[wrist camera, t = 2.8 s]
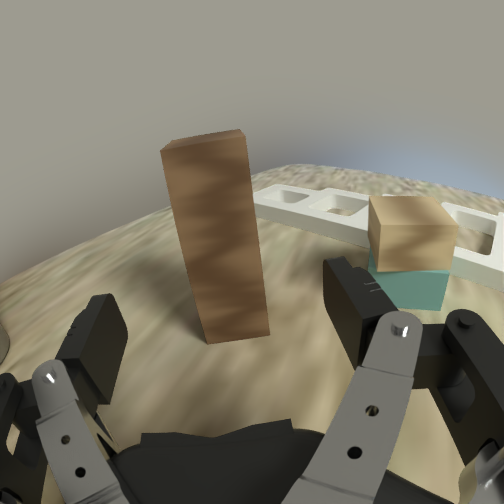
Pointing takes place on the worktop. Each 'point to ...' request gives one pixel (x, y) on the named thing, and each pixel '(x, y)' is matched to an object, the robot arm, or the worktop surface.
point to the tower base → (412, 286)
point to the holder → (356, 226)
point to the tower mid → (410, 233)
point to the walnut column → (218, 232)
